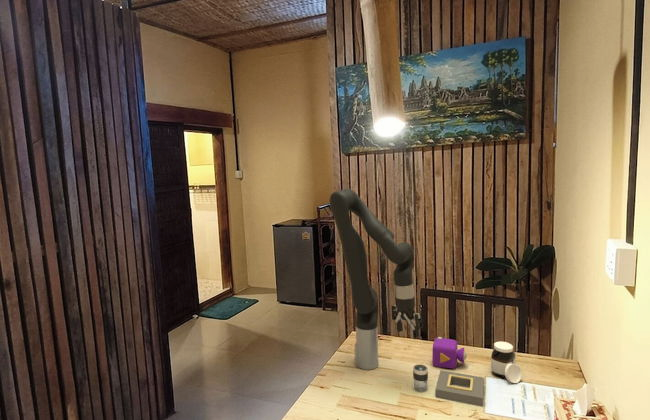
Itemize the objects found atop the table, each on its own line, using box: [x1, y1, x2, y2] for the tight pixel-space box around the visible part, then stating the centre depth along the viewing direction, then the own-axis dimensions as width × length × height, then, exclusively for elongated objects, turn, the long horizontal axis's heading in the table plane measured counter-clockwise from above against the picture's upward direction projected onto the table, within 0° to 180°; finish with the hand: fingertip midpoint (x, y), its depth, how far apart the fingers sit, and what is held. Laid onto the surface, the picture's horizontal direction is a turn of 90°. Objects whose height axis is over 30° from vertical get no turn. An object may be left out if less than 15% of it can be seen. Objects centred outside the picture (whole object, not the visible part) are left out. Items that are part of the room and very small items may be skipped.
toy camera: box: [432, 336, 468, 370], centre depth 166 cm, size 11×14×10 cm
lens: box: [412, 364, 429, 393], centre depth 149 cm, size 5×5×8 cm
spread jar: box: [490, 341, 523, 384], centre depth 155 cm, size 12×11×12 cm
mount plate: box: [434, 370, 485, 407], centre depth 146 cm, size 16×14×4 cm
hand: (407, 334), depth 154 cm, fingers open, 8 cm apart
